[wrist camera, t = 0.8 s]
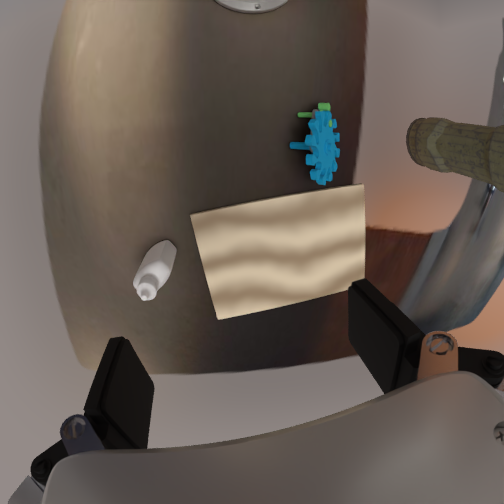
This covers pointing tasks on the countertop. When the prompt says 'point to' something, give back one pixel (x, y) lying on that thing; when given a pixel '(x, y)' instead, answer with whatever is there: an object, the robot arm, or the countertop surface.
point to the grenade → (458, 148)
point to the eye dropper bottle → (154, 269)
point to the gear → (320, 143)
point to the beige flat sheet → (282, 248)
